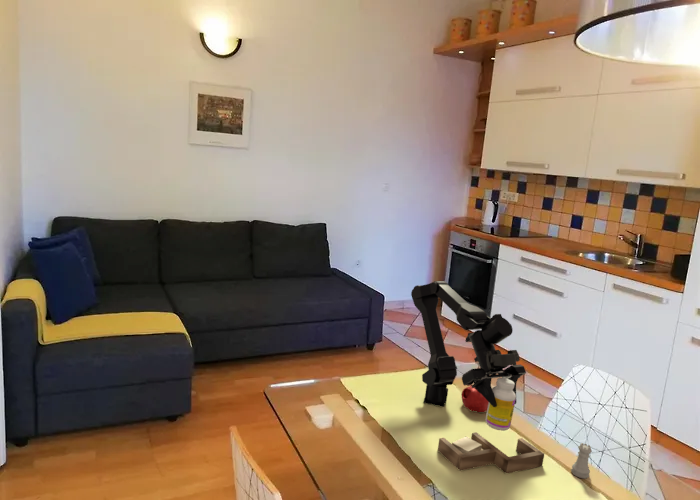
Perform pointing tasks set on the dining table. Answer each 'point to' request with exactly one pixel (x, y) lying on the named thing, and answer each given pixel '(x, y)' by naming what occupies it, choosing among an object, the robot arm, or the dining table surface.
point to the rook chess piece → (582, 462)
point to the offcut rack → (492, 456)
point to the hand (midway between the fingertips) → (505, 405)
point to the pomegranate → (474, 400)
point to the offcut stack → (467, 445)
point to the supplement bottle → (501, 405)
